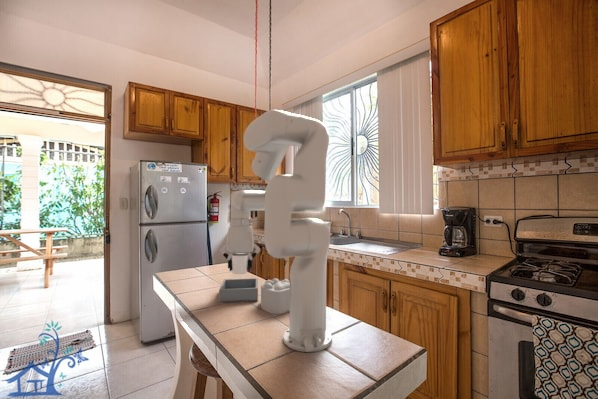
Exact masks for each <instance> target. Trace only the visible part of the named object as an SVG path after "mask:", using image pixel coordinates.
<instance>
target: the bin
mask: <svg viewBox="0 0 598 399" xmlns="http://www.w3.org/2000/svg"><path fill="white" fill-rule="evenodd" d="M258 280H259V278H257V277H256V278H229V279H225V278H224V279H223V281H222V283H221V285H220V286H219V292H218V302H219V304H223V303H225V304H226V303H242V302H243V303H246V302H259V294H258V293H259V283H258V282H259V281H258Z"/></svg>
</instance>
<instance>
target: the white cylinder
mask: <svg viewBox="0 0 598 399" xmlns="http://www.w3.org/2000/svg"><path fill="white" fill-rule="evenodd" d="M248 259H249V257H248V254H247V253H233V254H232V257H231V260H232V271H231V272H232V274H233V275H244V274H247V273H248Z"/></svg>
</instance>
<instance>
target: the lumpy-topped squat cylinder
mask: <svg viewBox="0 0 598 399" xmlns="http://www.w3.org/2000/svg"><path fill="white" fill-rule="evenodd" d="M260 308H261V309H263V310H264V311H266V312H268V313H271V314H272V315H273V314H275V315H281V314H284V313H288V312H290V279H287V278H285V279H282V280H280V279H279V278H276V277H275V278H272V279H267V280H266V281H263V282H262V283H261V285H260Z"/></svg>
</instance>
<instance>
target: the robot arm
mask: <svg viewBox="0 0 598 399" xmlns="http://www.w3.org/2000/svg"><path fill="white" fill-rule="evenodd" d="M329 144H330V134H329V130H328V127H327V126H326V125H325V124H324V122H322V121H320V120H319V119H316V118H312V117H310V116H309V117H308V116H305V115H301V114H297V113H291V112H289V111H284V110H281V109H270V110H267V111H265V112H264V113H262V114H261V115H260V116H258V117H257V118H255V119H254V120H253V121H251V122H250V124H249V125H248V126H247V127H246V129H245V131H244V134H243V145H244V147H245V149H247V150H248V151H250V152H256V153H255V156H254V158H253V160H252V163H251V170H252V172H253V173H254V175H256V176H258V178H260V179H263V180H264V181H266V182H267V185H266V187H265V188H264V190H258V189H257V190H256V189H255V190H254V189H241V190H238V191H237V190H236V191H232V192H231V194H230V226H228V231H227V235H226V236H227V237H226V243H225V244H224V245H223V246H222V247H221V248H219V250H218V251H219V252H220V254H221V255H222V256H223V257H224V258H225V259H226V260H227V269H229V272H232V260H231V257H232V254H234V253H247V254H248V257H249V259H248V269H247V271H251V269H252V267H253V265H252V264H253V259H254V258H255V257H257V255H258V254H260V252H261V248H260V247H259V246H258V245H257V244H256V243H255V242H254V240H255V239H254V238H255V237H254V228H253V226H252V224H255V220H253V219H251V218H252V217H251V213H252V211H254V212H255V211H256V212H257V211H263V212H264V230H263V232H264V233H263V234H264V237H263V238H264V246H265V250H266V252H267V253H268V254H269V256H271V257H272V258H273V259H288V258H293V257H294V259H293V260H292V263H291V267H290V268H289V269H290V271H289V282H290V311H289V318H288V319H289V323H288V326H289V327H288V329H286V330H285V331H284V333H283V337H282V338H283V343H284V344H285V345H286V347H288V348H289V349H292V350H295V351H298V352H302V353H303V352H304V353H312V352H313V353H314V352H319V351H323V350H324V349H327V348H328V347H329V346H330V345H331V344H332V342H333V335H332V333H331V332H330V331H329V330H328V329H327V263H328V261H327V260H328V254H329V248H330V246H331V231H330V228H329V226H328V225H327V223H326V222H325V221H324V220H322V219H319V218H315V217H295V218H294V217H293V218H292V214H304V213H306V214H310V213H316V212H319V211H320V210H322V209H323V207H324V205H325V200H326V184H327V183H326V181H327V180H326V179H327V178H326V177H327V174H326V173H327V172H326V171H327V164H326V163H327V155H328V149H329ZM290 146H291V147H297V148H298V150H297V151H296V153H295V155H294V159H293V169H292V170H293V171H292V174H284V173H283V174H277V172H278V169H279V168H280V165H281V164H282V162H283V160H284V158H285V156H286V153H287V151H288V149H289V148H290ZM276 174H277V175H276ZM225 250H226V251H225Z"/></svg>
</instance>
